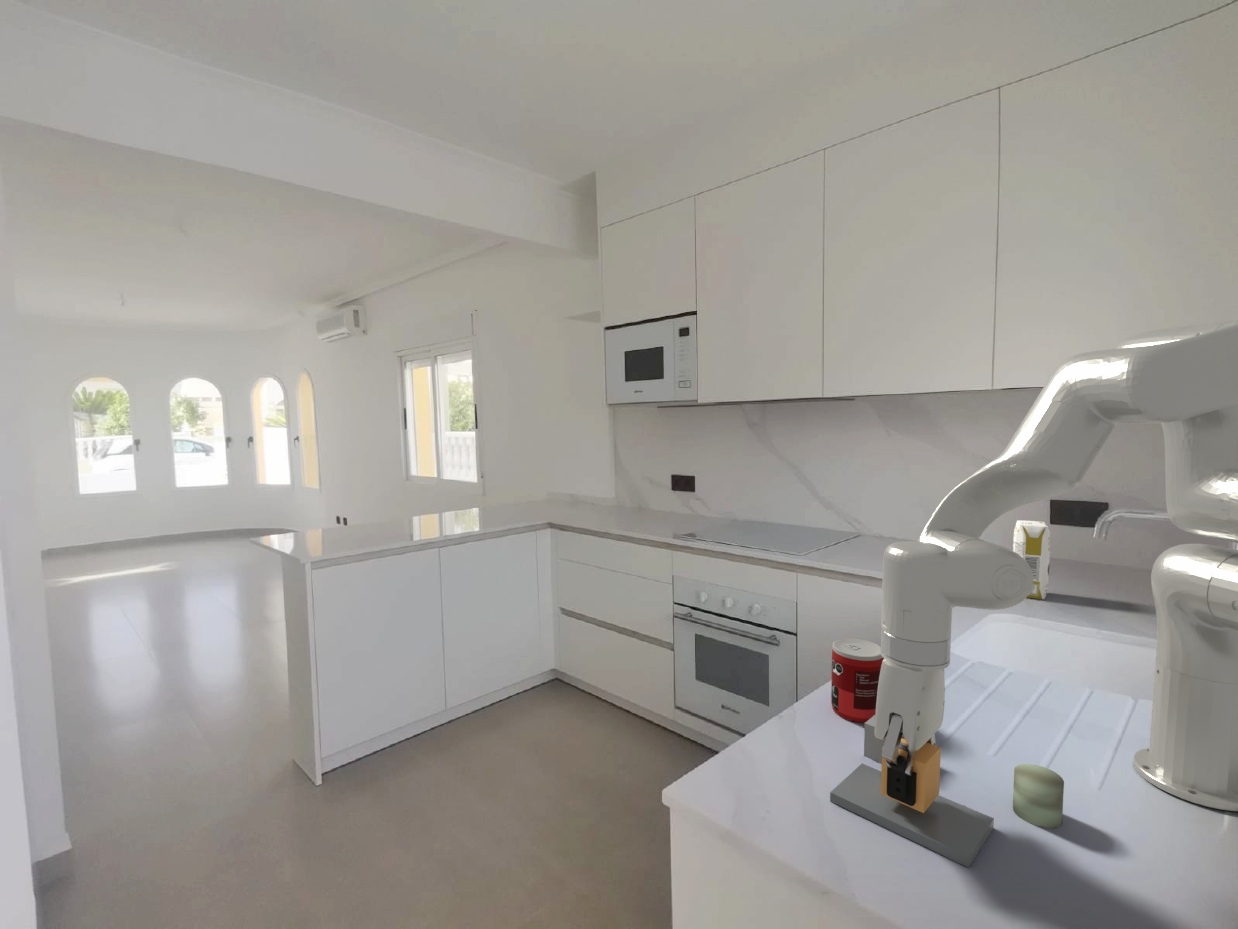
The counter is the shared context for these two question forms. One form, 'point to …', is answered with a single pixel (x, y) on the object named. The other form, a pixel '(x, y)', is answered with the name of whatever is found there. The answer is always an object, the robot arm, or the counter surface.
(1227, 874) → the counter surface
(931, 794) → the orange block
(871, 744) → the grey block
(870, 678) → the canned food
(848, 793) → the slate board
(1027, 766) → the sage cylinder
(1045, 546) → the juice carton
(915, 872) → the counter surface
